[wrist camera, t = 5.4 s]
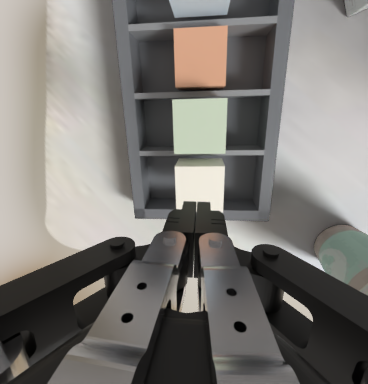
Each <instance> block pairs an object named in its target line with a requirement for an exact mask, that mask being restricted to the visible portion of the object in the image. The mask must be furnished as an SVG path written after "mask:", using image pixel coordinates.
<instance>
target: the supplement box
mask: <svg viewBox="0 0 368 384" xmlns="http://www.w3.org/2000/svg"><path fill="white" fill-rule="evenodd" d="M344 2H345V8H346V14H347V17H349V16H351V15H354V14H356V13H358V12H360V11H362V10H365V9H367V8H368V0H344Z"/></svg>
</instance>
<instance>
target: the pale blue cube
mask: <svg viewBox="0 0 368 384" xmlns="http://www.w3.org/2000/svg"><path fill="white" fill-rule="evenodd" d="M169 2H170V5H171V8H172V11H173V14H174V17H175V18H182V17H199V16H215V15H227V13H228V8H229V4H230V0H169Z"/></svg>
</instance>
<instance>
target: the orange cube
mask: <svg viewBox="0 0 368 384" xmlns="http://www.w3.org/2000/svg"><path fill="white" fill-rule="evenodd" d="M173 30H174V61H175V87H176V88H177V89H178V90H180V91H182V90H214V89H223V88H224V87H225V86H226V61H227V34H228V25H226V26H208V27H190V28H173Z"/></svg>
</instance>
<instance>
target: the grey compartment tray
mask: <svg viewBox="0 0 368 384" xmlns="http://www.w3.org/2000/svg"><path fill="white" fill-rule="evenodd" d="M112 5H113V14H114V24H115V33H116V42H117V52H118V61H119V71H120V80H121V90H122V99H123V109H124V118H125V128H126V137H127V147H128V156H129V166H130V175H131V185H132V194H133V204H134V213H135V218H138V219H167V217H168V214H169V213H170V212H171V211H172V210H174V209H176V190H175V165H176V163H177V161H178V159H179V158H222V160H223V162H224V165H225V177H224V202H223V213H222V214H224V217H225V220H240V221H269V215H270V206H271V198H272V189H273V181H274V172H275V163H276V155H277V146H278V138H279V129H280V120H281V112H282V103H283V95H284V86H285V77H286V69H287V60H288V52H289V43H290V34H291V26H292V17H293V9H294V0H230V4H229V8H228V13H227V15H215V16H199V17H182V18H175V17H174V14H173V11H172V8H171V5H170V2H169V0H112ZM226 25H228V34H227V61H226V86H225V87H224V88H223V89H214V90H182V91H180V90H178V89H177V88H176V87H175V61H174V30H173V28H190V27H208V26H226ZM208 98H228V102H227V127H226V152H225V154H174V136H173V109H172V99H208ZM196 214H197V212H196Z"/></svg>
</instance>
